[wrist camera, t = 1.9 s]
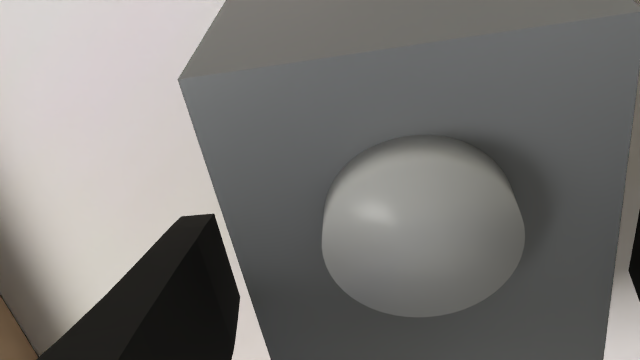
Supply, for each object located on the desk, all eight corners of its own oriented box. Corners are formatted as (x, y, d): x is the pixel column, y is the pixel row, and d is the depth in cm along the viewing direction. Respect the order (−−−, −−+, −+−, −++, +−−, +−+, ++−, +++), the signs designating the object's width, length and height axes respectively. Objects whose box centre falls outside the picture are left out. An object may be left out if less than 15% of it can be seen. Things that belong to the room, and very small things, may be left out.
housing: (524, 295, 15) (597, 525, 10) (329, 311, 16) (316, 533, 11) (529, -84, 10) (672, 31, 6) (247, -35, 11) (163, 103, 6)
